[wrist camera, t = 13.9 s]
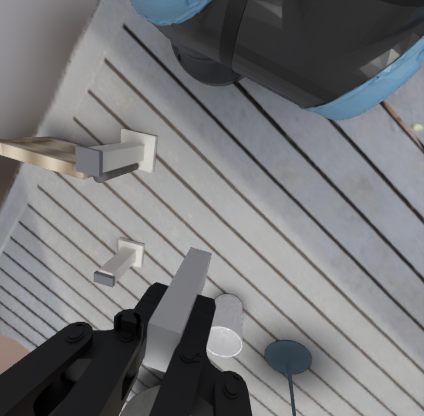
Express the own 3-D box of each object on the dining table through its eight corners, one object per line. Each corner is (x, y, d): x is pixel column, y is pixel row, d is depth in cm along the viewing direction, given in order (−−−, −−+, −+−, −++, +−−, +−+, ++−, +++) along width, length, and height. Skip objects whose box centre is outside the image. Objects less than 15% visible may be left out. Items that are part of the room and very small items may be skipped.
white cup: (216, 286, 53) (207, 321, 43) (249, 298, 52) (247, 335, 43) (208, 311, 56) (198, 348, 46) (239, 322, 55) (235, 362, 46)
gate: (139, 161, 44) (103, 172, 34) (137, 171, 45) (102, 185, 35) (49, 136, 46) (-10, 139, 36) (49, 146, 47) (-9, 152, 37)
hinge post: (124, 128, 44) (63, 130, 31) (157, 136, 44) (111, 141, 30) (122, 164, 47) (65, 179, 33) (154, 171, 46) (109, 191, 32)
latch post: (121, 237, 53) (89, 263, 43) (145, 244, 53) (118, 272, 43) (120, 258, 55) (89, 288, 45) (142, 265, 55) (116, 296, 45)
